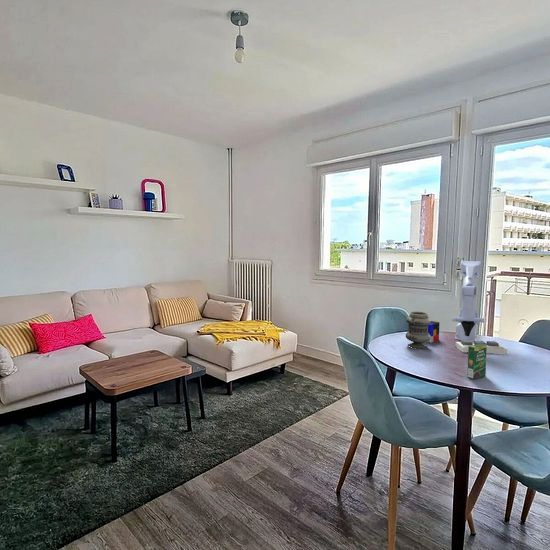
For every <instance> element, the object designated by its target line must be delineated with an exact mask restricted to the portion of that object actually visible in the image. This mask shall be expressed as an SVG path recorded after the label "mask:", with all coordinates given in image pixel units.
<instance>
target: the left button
mask: <svg viewBox="0 0 550 550" xmlns="http://www.w3.org/2000/svg"><path fill="white" fill-rule="evenodd" d="M460 342H461V344H462V345H473V343H474V342H471V341H470V340H460Z"/></svg>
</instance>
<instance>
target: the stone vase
mask: <svg viewBox="0 0 550 550" xmlns="http://www.w3.org/2000/svg"><path fill="white" fill-rule="evenodd" d="M431 321H432V320H431V318H429V316H428V312H424V311H419V310H418V311H415V310H414V311H411V312H410V313H409V315H408V316H407V318H406V322H407V323H408V329H407V330H408V331H406V333H405V338H406V340H408V341H409V342H411V343H408V344H407V345H408V346H410V347H412V348H416V349H415V350H422V349H424V350H427V349H428V346H427V345H425V344H424V343H428V341H429V340H430V338H431V336H430V334H429V333H428V325H429V324H430V323H431ZM408 346H407V347H408ZM412 348H411V349H412Z"/></svg>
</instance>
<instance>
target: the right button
mask: <svg viewBox="0 0 550 550" xmlns="http://www.w3.org/2000/svg"><path fill="white" fill-rule="evenodd" d="M485 343H486V345H488V346H498V347H499V345H500V343H498V342H497V341H493V340H491V341H489V340H486V342H485Z"/></svg>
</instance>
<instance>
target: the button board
mask: <svg viewBox="0 0 550 550" xmlns="http://www.w3.org/2000/svg"><path fill="white" fill-rule="evenodd" d="M473 345H474V342H473ZM468 346H472V345H462V344H461V341H455V347H456V348H457V349H458V351H460V352H462V353H467V352H468ZM490 353H494V355H497V354H498V355H508V348H507V347H504V346H503V345H502V344H499V347H498V346H488V345H487V350H486V354H490Z"/></svg>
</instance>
